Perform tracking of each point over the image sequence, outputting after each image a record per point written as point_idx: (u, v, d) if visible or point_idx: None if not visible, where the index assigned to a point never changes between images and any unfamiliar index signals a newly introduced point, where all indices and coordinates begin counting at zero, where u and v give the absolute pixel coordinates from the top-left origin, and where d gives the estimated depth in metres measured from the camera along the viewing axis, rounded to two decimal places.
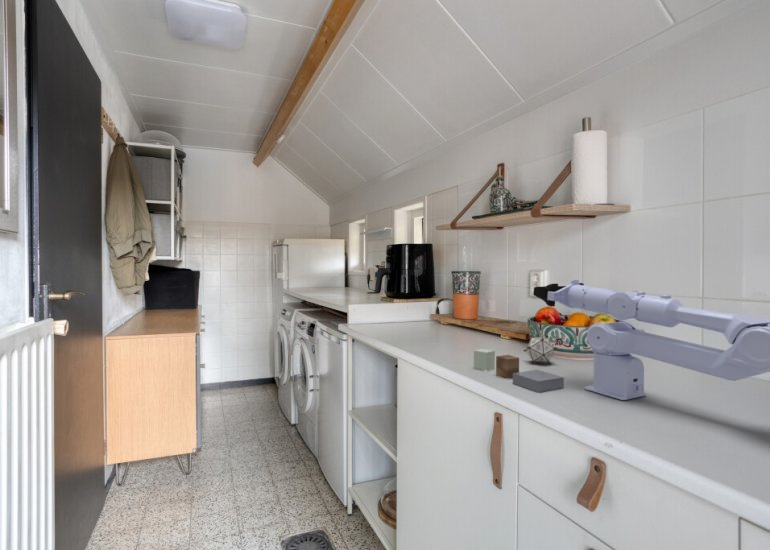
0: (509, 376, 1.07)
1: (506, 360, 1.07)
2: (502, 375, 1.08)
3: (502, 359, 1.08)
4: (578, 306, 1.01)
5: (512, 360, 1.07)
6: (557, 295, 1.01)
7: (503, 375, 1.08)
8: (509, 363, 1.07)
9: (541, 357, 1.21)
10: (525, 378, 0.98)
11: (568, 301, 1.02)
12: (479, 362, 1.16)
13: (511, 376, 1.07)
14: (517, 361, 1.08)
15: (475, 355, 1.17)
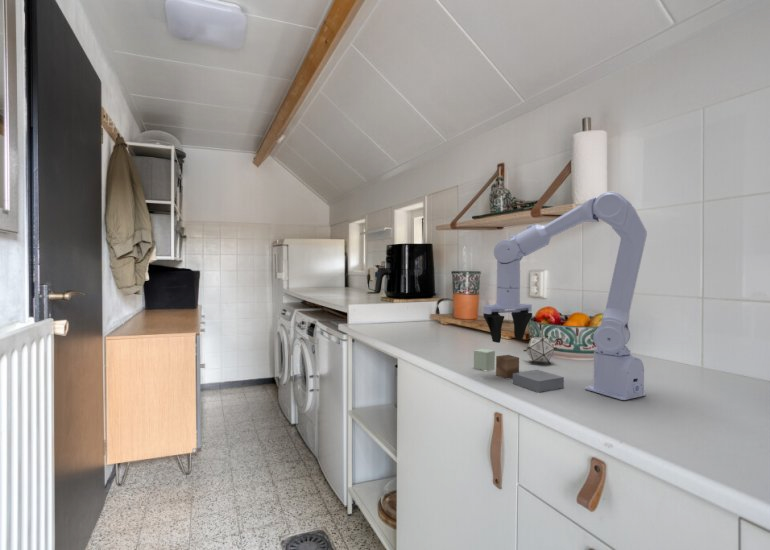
0: (509, 376, 1.07)
1: (506, 360, 1.07)
2: (502, 375, 1.08)
3: (502, 359, 1.08)
4: (508, 294, 1.06)
5: (512, 360, 1.07)
6: None
7: (503, 375, 1.08)
8: (509, 363, 1.07)
9: (541, 357, 1.21)
10: (525, 378, 0.98)
11: (503, 304, 1.07)
12: (479, 362, 1.16)
13: (511, 376, 1.07)
14: (517, 361, 1.08)
15: (475, 355, 1.17)
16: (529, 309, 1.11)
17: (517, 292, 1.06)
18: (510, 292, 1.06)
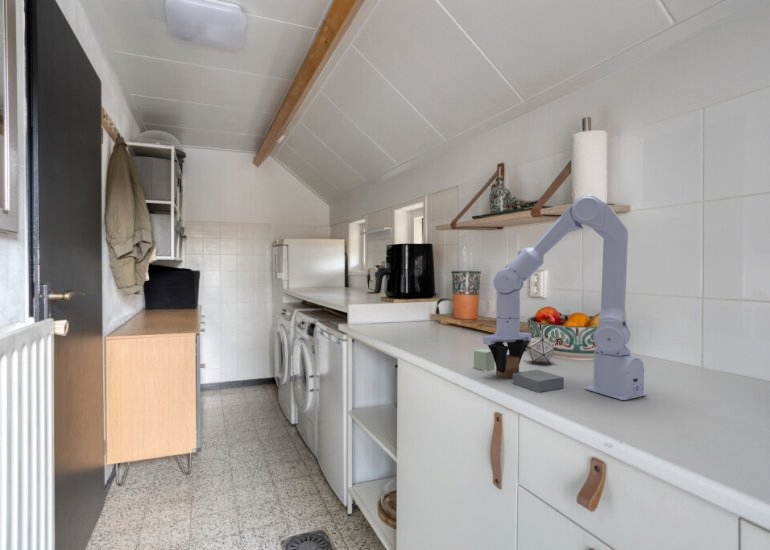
0: (509, 376, 1.07)
1: (506, 360, 1.07)
2: (502, 375, 1.08)
3: None
4: (507, 325, 1.06)
5: (512, 360, 1.07)
6: None
7: (503, 375, 1.08)
8: (509, 363, 1.07)
9: (541, 357, 1.21)
10: (525, 378, 0.98)
11: (503, 334, 1.07)
12: (479, 362, 1.16)
13: (511, 376, 1.07)
14: (517, 361, 1.08)
15: (475, 355, 1.17)
16: (529, 338, 1.11)
17: (517, 322, 1.07)
18: (510, 323, 1.06)
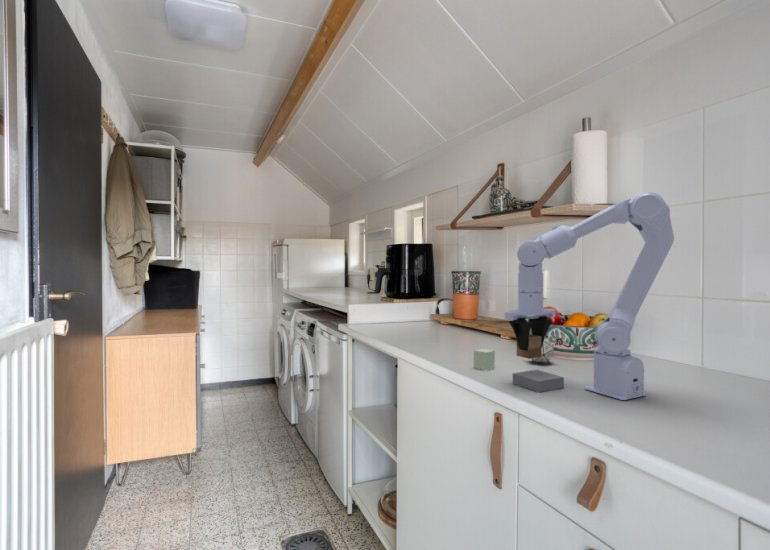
0: (531, 355, 1.00)
1: None
2: (523, 355, 1.02)
3: None
4: (530, 299, 0.99)
5: (534, 338, 1.01)
6: None
7: (524, 355, 1.01)
8: (531, 342, 1.00)
9: (541, 357, 1.21)
10: (525, 378, 0.98)
11: (526, 309, 1.00)
12: (479, 362, 1.16)
13: (533, 356, 1.01)
14: (539, 340, 1.02)
15: (475, 355, 1.17)
16: (553, 315, 1.04)
17: (540, 297, 1.00)
18: (533, 297, 0.99)
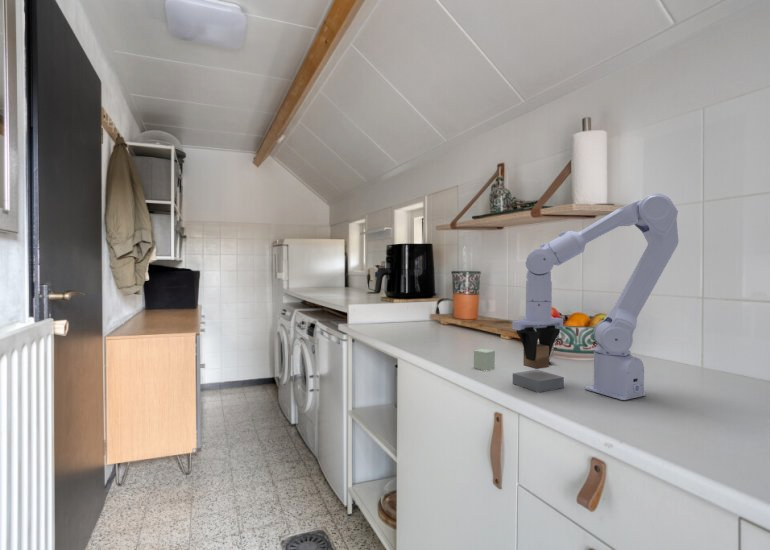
0: (538, 366, 0.98)
1: None
2: (531, 365, 0.99)
3: None
4: (539, 309, 0.97)
5: (542, 348, 0.99)
6: None
7: (532, 365, 0.99)
8: (538, 352, 0.98)
9: None
10: (525, 378, 0.98)
11: (534, 319, 0.98)
12: (479, 362, 1.16)
13: (541, 366, 0.99)
14: (547, 350, 0.99)
15: (475, 355, 1.17)
16: (560, 324, 1.02)
17: (549, 306, 0.98)
18: (541, 306, 0.97)
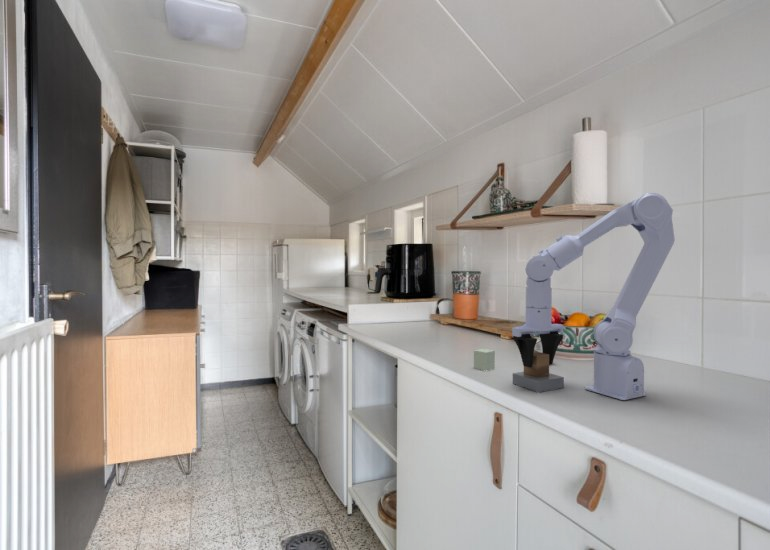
0: (539, 374, 0.98)
1: (535, 357, 0.98)
2: (531, 373, 0.99)
3: None
4: (539, 315, 0.97)
5: (542, 357, 0.99)
6: None
7: (532, 374, 0.99)
8: (539, 360, 0.98)
9: None
10: (525, 378, 0.98)
11: (534, 325, 0.98)
12: (479, 362, 1.16)
13: (541, 374, 0.99)
14: (547, 358, 0.99)
15: (475, 355, 1.17)
16: (560, 330, 1.02)
17: (549, 312, 0.98)
18: (541, 312, 0.97)
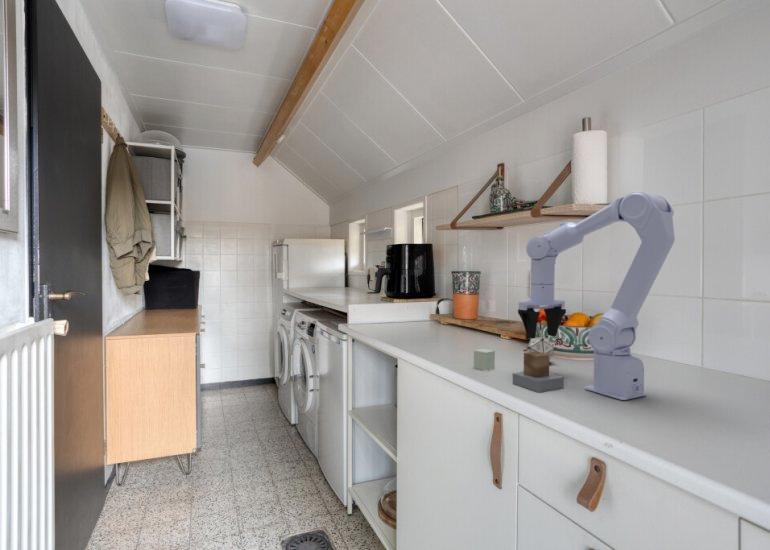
0: (539, 374, 0.98)
1: (535, 357, 0.98)
2: (531, 373, 0.99)
3: (531, 356, 0.99)
4: (543, 291, 1.07)
5: (542, 357, 0.99)
6: None
7: (532, 374, 0.99)
8: (539, 360, 0.98)
9: None
10: (525, 378, 0.98)
11: (538, 300, 1.07)
12: (479, 362, 1.16)
13: (541, 374, 0.99)
14: (547, 358, 0.99)
15: (475, 355, 1.17)
16: (562, 305, 1.12)
17: (552, 288, 1.07)
18: (545, 288, 1.06)
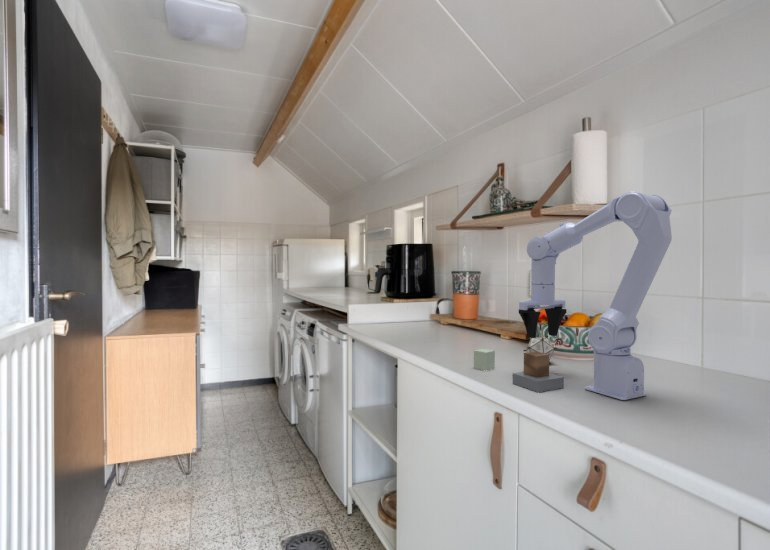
0: (539, 374, 0.98)
1: (535, 357, 0.98)
2: (531, 373, 0.99)
3: (531, 356, 0.99)
4: (543, 291, 1.07)
5: (542, 357, 0.99)
6: None
7: (532, 374, 0.99)
8: (539, 360, 0.98)
9: None
10: (525, 378, 0.98)
11: (539, 300, 1.08)
12: (479, 362, 1.16)
13: (541, 374, 0.99)
14: (547, 358, 0.99)
15: (475, 355, 1.17)
16: (563, 305, 1.12)
17: (552, 288, 1.08)
18: (546, 288, 1.07)
